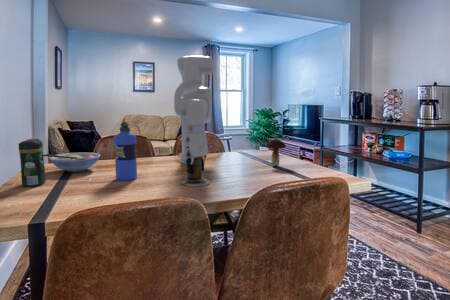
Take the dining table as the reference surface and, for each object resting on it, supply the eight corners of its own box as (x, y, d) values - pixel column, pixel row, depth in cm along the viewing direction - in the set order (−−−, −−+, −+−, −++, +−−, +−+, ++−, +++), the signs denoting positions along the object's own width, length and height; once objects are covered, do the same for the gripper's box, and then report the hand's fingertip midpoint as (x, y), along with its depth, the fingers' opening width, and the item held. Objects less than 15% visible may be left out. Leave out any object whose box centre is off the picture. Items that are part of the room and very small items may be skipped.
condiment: (199, 175, 142) (199, 148, 141) (206, 180, 135) (206, 151, 133) (183, 177, 139) (183, 149, 137) (190, 182, 132) (190, 152, 130)
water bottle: (125, 182, 138) (123, 123, 135) (111, 179, 143) (108, 122, 140) (141, 177, 146) (140, 122, 142) (127, 175, 151) (125, 121, 147)
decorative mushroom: (276, 169, 167) (277, 140, 165) (260, 166, 175) (261, 138, 173) (289, 166, 174) (290, 139, 172) (273, 163, 182) (274, 137, 180)
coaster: (175, 183, 136) (175, 182, 136) (194, 178, 146) (194, 176, 146) (197, 188, 129) (197, 186, 129) (215, 182, 139) (215, 180, 139)
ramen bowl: (112, 168, 165) (112, 152, 164) (75, 178, 144) (73, 160, 143) (77, 164, 175) (76, 149, 174) (37, 172, 155) (36, 155, 154)
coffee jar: (27, 181, 137) (23, 138, 134) (48, 180, 139) (44, 137, 136) (18, 187, 128) (14, 140, 125) (41, 186, 130) (37, 140, 127)
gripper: (188, 131, 125) (189, 177, 128) (215, 128, 139) (215, 169, 142) (174, 130, 129) (175, 174, 132) (201, 127, 143) (201, 167, 146)
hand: (195, 171), depth 137 cm, fingers closed on condiment, 6 cm apart
